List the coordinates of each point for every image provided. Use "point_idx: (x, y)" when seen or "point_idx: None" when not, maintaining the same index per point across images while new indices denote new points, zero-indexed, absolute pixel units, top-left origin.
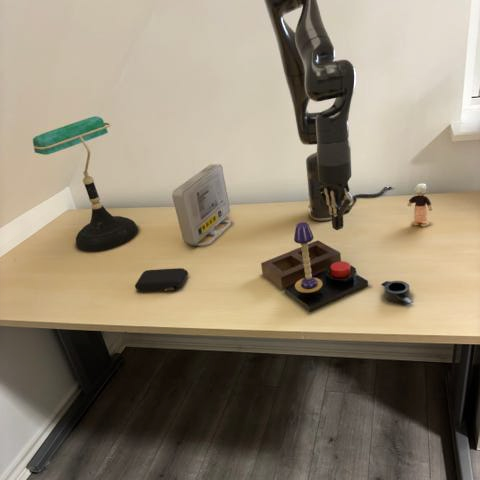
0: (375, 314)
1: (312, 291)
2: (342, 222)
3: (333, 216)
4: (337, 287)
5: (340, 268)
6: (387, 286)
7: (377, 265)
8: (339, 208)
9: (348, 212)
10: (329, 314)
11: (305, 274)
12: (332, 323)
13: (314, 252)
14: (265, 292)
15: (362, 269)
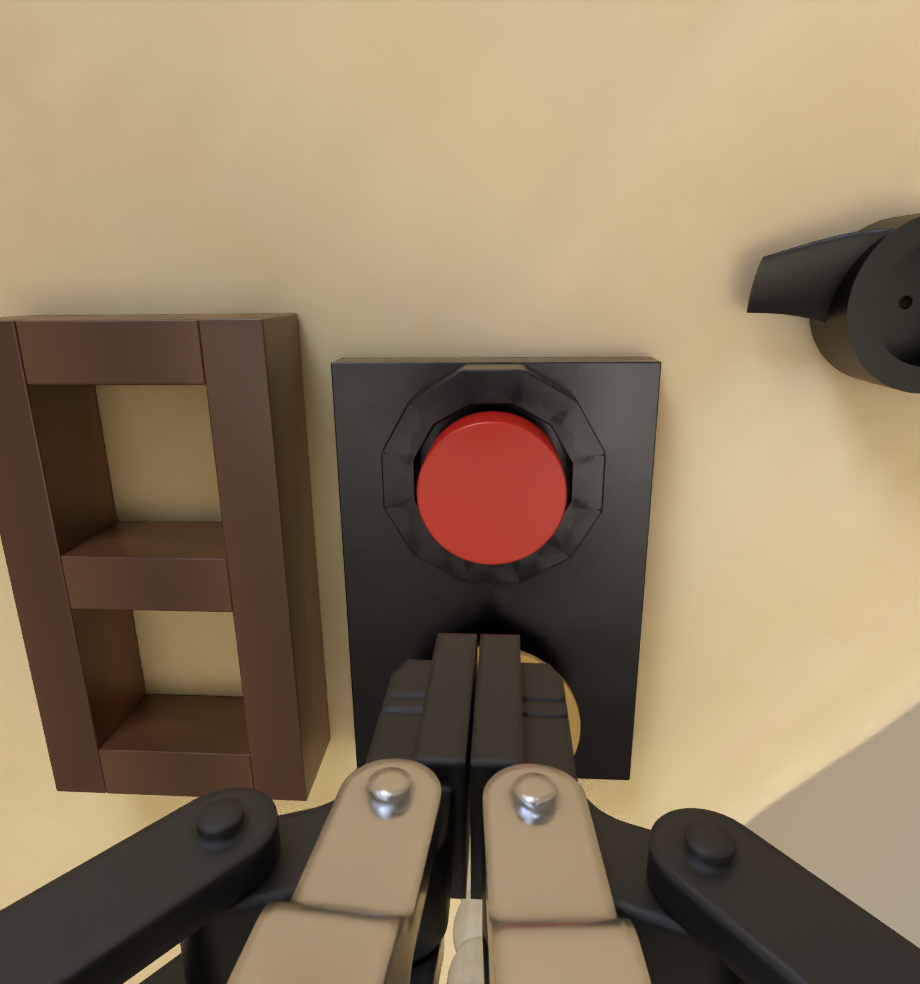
0: (913, 524)
1: (574, 752)
2: (565, 721)
3: (472, 894)
4: (578, 558)
5: (520, 515)
6: (878, 351)
7: (475, 104)
8: (434, 839)
9: (759, 852)
10: (712, 696)
11: None
12: (788, 730)
13: (67, 397)
14: (289, 806)
15: (446, 234)
